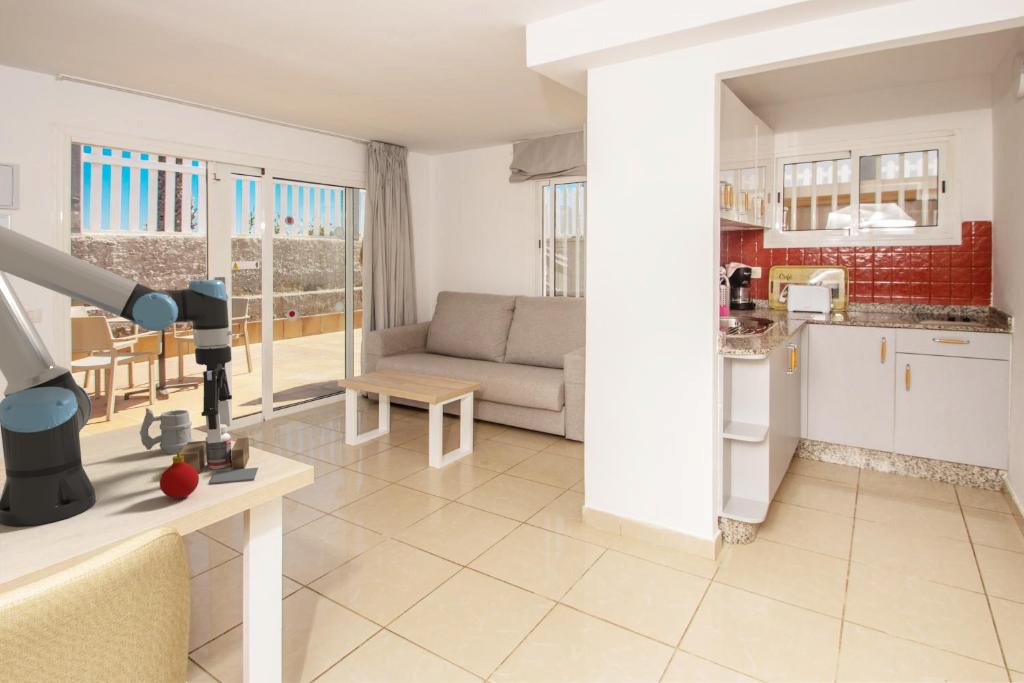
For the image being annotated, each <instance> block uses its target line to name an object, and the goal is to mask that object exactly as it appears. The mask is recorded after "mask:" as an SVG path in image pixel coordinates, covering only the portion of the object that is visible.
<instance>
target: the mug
mask: <svg viewBox="0 0 1024 683" xmlns="http://www.w3.org/2000/svg"><path fill="white" fill-rule="evenodd" d="M156 421H158V422H160V424H159V429H160V435H158V436H156V437H151V435H149V428H150V426H151V425H152V424H153V423H154V422H156ZM192 423H193V422H192V421H191V419H190V412H189V410H186V409H176V410H167V411H164V412H162V413H161V414H160V415H155V413H154V412H153V410H152V409H151V408H150V407H145V416H144V419H143V422H142V423H141V427H140V431H139V434H140V438H141V439H140V441H141V444H142V445H143V446H144V447H145V449H146V450H148V451H150V450H151V449H152V448H153V447H154V446H155V445H157V444H159V447H160V448H159V449H161V453H162V454H167V455H175V454H176V455H177V451H179V453H180V452H181V451H182V449H183V448H184V447H185V445H186V444H187V443H188V442H195V440H194V439H193V437H192V427H191V426H192V425H193V424H192Z"/></svg>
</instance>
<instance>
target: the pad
mask: <svg viewBox="0 0 1024 683" xmlns="http://www.w3.org/2000/svg"><path fill="white" fill-rule="evenodd" d="M258 470H259V467H251V468H250V467H247V468H246V467H245V469H235V470H232V469H227V470H225V469H224V470H216V471H215V472H214V473H213V476H212V477H211V479H210V481H209V485H217V484H218V485H219V484H228V483H230V484H231V483H239V482H248V481H249V482H251V481H255V479H256V477H257V473H258Z"/></svg>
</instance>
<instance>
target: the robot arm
mask: <svg viewBox="0 0 1024 683" xmlns="http://www.w3.org/2000/svg"><path fill="white" fill-rule="evenodd" d="M6 273H7V274H9V275H12V276H14V277H17V278H19V279H22V280H24V281H26V282H27V281H28V282H30V283H32V284H35V285H37V286H40V287H43V288H45V289H48V290H51V291H54V292H56V293H59V294H60V295H63V296H66V297H68V298H71V299H73V300H76V301H79V302H82V303H84V304H87V305H90V306H92V307H94V308H97V309H100V310H101V311H105V312H107V313H111V314H112V315H116V316H118V317H120V318H122V319H124V320H127V321H129V322H131V324H133V325H139V327H141V328H142V329H145V330H148V331H152V332H159V331H164V330H166V329H169V328H170V327H172V326H173V324H179V323H192V334H193V345H194V346H195V347H196V348H195V349H194V355H195V363H196V364H197V365H200V366H206V370H205V371H203V372H202V375H203V376H202V377H203V407H202V409H203V410H202V412H201V413H200V414H201V417H205V421H206V422H205V423H206V433H207V434H206V435H207V436H206V437H208V443H217V442H222V439H221V427H220V424H225V425H227V428H229V427H231V425H232V424H231V411H230V402H229V401H230V400H232V399H233V395H232V394H231V393H230V389H229V381H228V377H227V372H226V371H227V370H226V364H227V363H230V362H232V348H231V346H230V345H229V344H230V343H231V342H230V341H231V340H230V336H232V335H233V332H232V331H231V330H230V328H229V327H230V326H229V325H230V324H229V308H228V298H227V297H228V296H227V291H226V284H225V282H223V281H222V280H221V279H220V280H219V279H200V280H199V279H198V280H196V279H195V280H191V281H189V283H188V284H189V285H188V288H185V289H156V290H155V289H153V288H150V287H148V286H146V285H143V284H140V283H138V282H135V281H133V280H131V279H128V278H126V277H124V276H122V275H119V274H118V273H114V272H113V271H112V272H111V271H109V270H108V269H105V268H102V267H100V266H97V265H95V264H93V263H91V262H88V261H86V260H83V259H81V258H79V257H76V256H73V255H72V254H69V253H67V252H65V251H62V250H60V249H57V248H55V247H52V246H50V245H47V244H45V243H43V242H40V241H38V240H37V239H34V238H31V237H29V236H26V235H24V234H22V233H19V232H17V231H14V230H12V229H9V228H7V227H6V226H5V227H4V226H2V225H0V371H1V373H2V375H3V378H5V380H6V382H7V385H6V387H5V389H4V391H3V395H4V398H3V399H2V400H1V401H0V433H1V441H2V442H1V443H2V450H3V453H2V454H3V460H4V468H5V482H4V486H3V489H2V493H1V495H0V524H2V525H4V526H9V527H10V526H11V527H12V526H13V527H25V526H26V527H28V526H35V525H42V524H43V525H44V524H47V523H48V524H49V523H52V522H57V521H60V520H64V519H65V520H66V519H68V518H71V517H74V516H76V515H79V514H81V513H83V512H86V511H88V510H89V509H90V508H92V507H93V506H94V505H95V504H96V501H97V498H96V496H97V495H96V490H95V488H94V485H93V484H92V482H91V480H90V478H89V476H88V474H87V473H86V471H85V469H84V467H83V463H82V451H81V442H80V440H81V439H80V432H81V430H83V428H84V427H85V426H86V425H87V423H88V421H89V419H90V417H91V414H92V401H91V398H90V395H89V394H88V393H87V391H86V390H85V389H84V388H83V387H82V386H80V385H79V384H77V382H76V380H75V378H74V377H73V375H72V373H71V371H70V370H69V368H66V367H63V366H60V365H58V364H56V362H55V361H54V359H53V356H52V355H51V353H50V352H49V350H48V348H47V346H46V344H45V342H44V341H43V339H42V337H41V335H40V334H39V332H38V330H37V328H36V326H35V324H34V323H33V321H32V319H31V317H30V316H29V314H28V312H27V310H26V308H25V307H24V305H23V303H22V301H21V300H20V297H19V296H18V294H17V292H16V291H15V288H13V286H12V284H11V283H12V282H10V280H9V278H8V276H7V274H6Z"/></svg>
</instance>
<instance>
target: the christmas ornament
mask: <svg viewBox="0 0 1024 683" xmlns="http://www.w3.org/2000/svg"><path fill="white" fill-rule="evenodd" d="M199 480H200V477H199V474H198V473H197V471H196V470H195V468H193V467H192V466H190V465H188V464H186V463H185V462H184V456H183V455H179V451H177V454H176V455H174V456H173V457H172V464H171V465H169V467H167V468H166V469H165V470H163V472H162V473H161V476H160V478H159V487H160V489H161V491H162V493H163V494H164V495H166V496H167V497H169V498H171V499H184V498H187V497H188V496H190V495H191V494H192V493H193V492H194V491H196V489H197V487H198V485H199Z"/></svg>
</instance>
